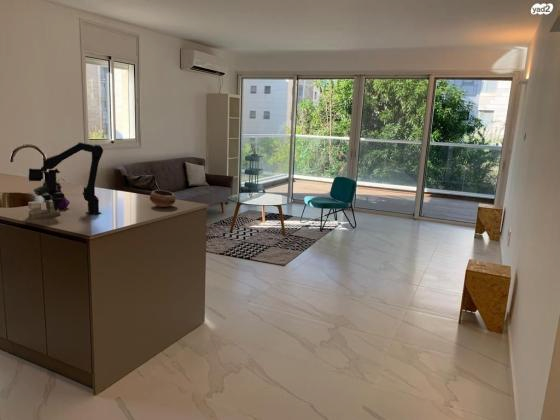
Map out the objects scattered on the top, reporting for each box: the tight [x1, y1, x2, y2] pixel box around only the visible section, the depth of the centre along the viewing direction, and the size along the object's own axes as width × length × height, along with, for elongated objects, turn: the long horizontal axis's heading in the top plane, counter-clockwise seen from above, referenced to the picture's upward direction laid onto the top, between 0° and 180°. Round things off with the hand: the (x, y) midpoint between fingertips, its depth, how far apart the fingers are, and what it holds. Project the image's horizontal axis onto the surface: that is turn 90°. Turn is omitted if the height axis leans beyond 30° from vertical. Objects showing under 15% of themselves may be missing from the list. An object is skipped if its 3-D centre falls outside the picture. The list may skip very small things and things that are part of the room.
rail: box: [27, 201, 61, 220], centre depth 239 cm, size 6×14×8 cm, turn 140°
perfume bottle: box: [57, 178, 71, 210], centre depth 258 cm, size 8×8×18 cm
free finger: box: [45, 200, 58, 213], centre depth 242 cm, size 5×4×6 cm
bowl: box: [149, 189, 176, 208], centre depth 280 cm, size 16×16×10 cm
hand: (52, 208), depth 243 cm, fingers open, 9 cm apart
